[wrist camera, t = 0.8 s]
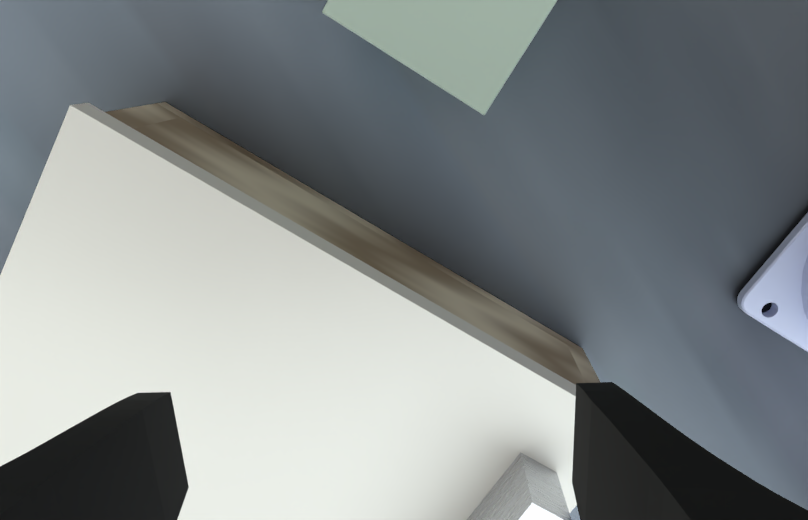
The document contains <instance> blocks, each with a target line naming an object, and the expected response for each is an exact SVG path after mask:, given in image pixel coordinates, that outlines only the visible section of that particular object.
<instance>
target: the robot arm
mask: <svg viewBox="0 0 808 520" xmlns="http://www.w3.org/2000/svg"><path fill="white" fill-rule="evenodd" d="M771 302H772V306H771V308H770V310H768V311H767V312H763V313H762V308H763V306H764V305H765V304H767V303H771ZM737 303H738V306H739V308H740V309H741V310H743V311H744V312H745V313H746V314H748V315H749V316H751V317H753V318H754V319H756V320H757V321H759V322H760V323H762V324H764V325H765V326H767V327H768V328H770V329H772V330H773V331H775V332H776V333H778V334H780V335H781V336H783V337H784V338H786V339H788V340H789V341H791V342H792V343H794V344H796V345H797V346H799V347H800V348H802V349H804V350H805V351H807V352H808V213H807V214H806V215H805V216H804V217H803V218H802V220H801V221H800V222H799V223H798V224H797V225H796V227H795V228H794V229H793V230H792V231H791V232H790V234H789V235H788V236H787V237H786V238H785V240H784V241H783V242H782V243H781V244H780V245H779V247H778V248H777V249H776V250H775V251H774V252H773V254H772V255H771V256H770V257H769V258H768V259H767V261H766V262H765V263H764V264H763V265H762V267H761V268H760V269H759V270H758V271H757V272H756V274H755V275H754V276H753V277H752V278H751V279H750V281H749V282H748V283H747V284H746V285H745V287H744V288H743V289H742V290H741V291H740V293H739V295H738V297H737ZM572 485H573V489H574V494H575V498H576V502H577V507H578V511H579V515H580V520H808V510H806V509H804V508H802V507H800V506H798V505H796V504H795V503H793V502H791V501H789V500H787V499H785V498H783V497H782V496H780V495H778V494H776V493H774V492H773V491H771V490H769V489H767V488H766V487H764V486H762V485H761V484H759V483H757V482H755V481H754V480H752V479H751V478H749V477H747V476H746V475H744V474H743V473H741V472H740V471H738V470H736V469H735V468H733V467H732V466H730V465H728V464H727V463H725V462H724V461H722V460H721V459H719V458H717V457H716V456H714V455H713V454H711V453H710V452H709V451H707V450H706V449H704V448H703V447H701V446H700V445H698V444H697V443H695V442H694V441H692V440H691V439H690V438H688V437H687V436H685V435H684V434H683V433H681V432H680V431H678V430H677V429H676V428H674V427H673V426H671V425H670V424H669V423H667V422H666V421H665V420H663V419H662V418H661V417H659V416H658V415H657V414H655V413H654V412H653V411H651V410H650V409H649V408H647V407H646V406H644V405H643V404H642V403H640V402H639V401H638V400H636V399H635V398H634V397H632V396H631V395H630V394H628V393H627V392H626V391H624V390H623V389H621V388H620V387H619V386H617V385H616V384H614V383H612V382H603V383H576V400H575V423H574V446H573V470H572ZM188 488H189V486H188V481H187V475H186V470H185V465H184V460H183V454H182V449H181V444H180V439H179V434H178V428H177V423H176V418H175V413H174V407H173V402H172V397H171V392H150V393H136V394H134V395H131V396H129V397H127V398H125V399H123V400H120V401H118V402H117V403H115V404H113V405H111V406H109V407H107V408H105V409H103V410H101V411H100V412H98V413H96V414H94V415H92V416H91V417H89V418H87V419H85V420H84V421H82V422H80V423H78V424H76V425H75V426H73V427H71V428H69V429H68V430H66V431H64V432H62V433H60V434H59V435H57V436H55V437H53V438H52V439H50V440H48V441H46V442H45V443H43V444H41V445H39V446H37V447H36V448H34V449H32V450H30V451H28V452H27V453H25V454H23V455H21V456H19V457H17V458H15V459H13V460H12V461H10V462H8V463H6V464H4V465H2V466H0V520H177V519H178V516H179V513H180V511H181V508H182V505H183V502H184V499H185V497H186V494H187V491H188Z"/></svg>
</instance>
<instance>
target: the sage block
mask: <svg viewBox="0 0 808 520" xmlns="http://www.w3.org/2000/svg"><path fill="white" fill-rule="evenodd" d="M556 2H557V0H328V2H327V3H326V5H325V7H324V9H323V11H322V13H324V14H325V15H327V16H328V17H330V18H332V19H333V20H335V21H336V22H338V23H339V24H341V25H343V26H344V27H346V28H347V29H349V30H350V31H352V32H354V33H355V34H357V35H358V36H360V37H361V38H363V39H365V40H366V41H368V42H369V43H371V44H372V45H374V46H376V47H377V48H379V49H380V50H382V51H384V52H385V53H387V54H388V55H390V56H391V57H393V58H395V59H396V60H398V61H399V62H401V63H402V64H404V65H406V66H407V67H409V68H410V69H412V70H413V71H415V72H417V73H418V74H420V75H421V76H423V77H424V78H426V79H428V80H429V81H431V82H432V83H434V84H435V85H437V86H439V87H440V88H442V89H443V90H445V91H446V92H448V93H450V94H451V95H453V96H454V97H456V98H458V99H459V100H461V101H462V102H464V103H465V104H467V105H469V106H470V107H472V108H473V109H475V110H476V111H478V112H480V113H481V114H483V115H485V113H486V112H487V110H488V109H489V107H490V106H491V104H492V102H493V101H494V99H495V98H496V96H497V95H498V93H499V91H500V90H501V88H502V87H503V85H504V84H505V82H506V80H507V79H508V77H509V76H510V74H511V73H512V71H513V69H514V68H515V66H516V65H517V63H518V61H519V60H520V58H521V57H522V55H523V54H524V52H525V50H526V49H527V47H528V46H529V44H530V43H531V41H532V39H533V38H534V36H535V35H536V33H537V32H538V30H539V28H540V27H541V25H542V24H543V22H544V20H545V19H546V17H547V16H548V14H549V13H550V11H551V9H552V8H553V6H554V5H555V3H556Z"/></svg>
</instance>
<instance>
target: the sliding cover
mask: <svg viewBox="0 0 808 520" xmlns="http://www.w3.org/2000/svg"><path fill="white" fill-rule="evenodd" d="M150 392H171V397H172V402H173V407H174V413H175V418H176V423H177V428H178V434H179V439H180V444H181V449H182V454H183V460H184V465H185V470H186V475H187V481H188V486H189V488H188V491H187V494H186V497H185V499H184V502H183V505H182V508H181V511H180V513H179V516H178V519H177V520H571V517H570V512H571V511H572V510H573V509H574V508H575V506H576V505H577V502H576V498H575V494H574V489H573V485H572V470H573V446H574V423H575V400H576V385H575V384H573V383H571V382H570V381H568V380H566V379H564V378H563V377H561V376H559V375H558V374H556V373H554V372H552V371H551V370H549V369H547V368H545V367H544V366H542V365H540V364H539V363H537V362H535V361H533V360H532V359H530V358H528V357H526V356H525V355H523V354H521V353H520V352H518V351H516V350H514V349H513V348H511V347H509V346H507V345H506V344H504V343H502V342H501V341H499V340H497V339H495V338H494V337H492V336H490V335H489V334H487V333H485V332H483V331H482V330H480V329H478V328H476V327H475V326H473V325H471V324H470V323H468V322H466V321H464V320H463V319H461V318H459V317H457V316H456V315H454V314H452V313H451V312H449V311H447V310H445V309H444V308H442V307H440V306H438V305H437V304H435V303H433V302H432V301H430V300H428V299H426V298H425V297H423V296H421V295H419V294H418V293H416V292H414V291H413V290H411V289H409V288H407V287H406V286H404V285H402V284H400V283H399V282H397V281H395V280H394V279H392V278H390V277H388V276H387V275H385V274H383V273H381V272H380V271H378V270H376V269H375V268H373V267H371V266H369V265H368V264H366V263H364V262H363V261H361V260H359V259H357V258H356V257H354V256H352V255H350V254H349V253H347V252H345V251H344V250H342V249H340V248H338V247H337V246H335V245H333V244H331V243H330V242H328V241H326V240H325V239H323V238H321V237H319V236H318V235H316V234H314V233H312V232H311V231H309V230H307V229H306V228H304V227H302V226H300V225H299V224H297V223H295V222H293V221H292V220H290V219H288V218H287V217H285V216H283V215H281V214H280V213H278V212H276V211H274V210H273V209H271V208H269V207H268V206H266V205H264V204H262V203H261V202H259V201H257V200H256V199H254V198H252V197H250V196H249V195H247V194H245V193H243V192H242V191H240V190H238V189H237V188H235V187H233V186H231V185H230V184H228V183H226V182H224V181H223V180H221V179H219V178H218V177H216V176H214V175H212V174H211V173H209V172H207V171H205V170H204V169H202V168H200V167H199V166H197V165H195V164H193V163H192V162H190V161H188V160H186V159H185V158H183V157H181V156H180V155H178V154H176V153H174V152H173V151H171V150H169V149H167V148H166V147H164V146H162V145H161V144H159V143H157V142H155V141H154V140H152V139H150V138H148V137H147V136H145V135H143V134H142V133H140V132H138V131H136V130H135V129H133V128H131V127H130V126H128V125H126V124H124V123H123V122H121V121H119V120H117V119H116V118H114V117H112V116H111V115H109V114H107V113H105V112H104V111H102V110H100V109H98V108H97V107H95V106H93V105H92V104H90V103H82V104H74V105H70V107H69V109H68V112H67V114H66V116H65V119H64V121H63V124H62V126H61V129H60V131H59V134H58V136H57V138H56V141H55V143H54V146H53V148H52V151H51V153H50V155H49V158H48V160H47V163H46V165H45V168H44V170H43V173H42V175H41V177H40V180H39V182H38V185H37V187H36V190H35V192H34V194H33V197H32V199H31V202H30V204H29V207H28V209H27V212H26V214H25V216H24V219H23V221H22V224H21V226H20V229H19V231H18V233H17V236H16V238H15V241H14V243H13V246H12V248H11V251H10V253H9V255H8V258H7V260H6V263H5V265H4V268H3V270H2V272H1V275H0V466H2V465H4V464H6V463H8V462H10V461H12V460H13V459H15V458H17V457H19V456H21V455H23V454H25V453H27V452H28V451H30V450H32V449H34V448H36V447H37V446H39V445H41V444H43V443H45V442H46V441H48V440H50V439H52V438H53V437H55V436H57V435H59V434H60V433H62V432H64V431H66V430H68V429H69V428H71V427H73V426H75V425H76V424H78V423H80V422H82V421H84V420H85V419H87V418H89V417H91V416H92V415H94V414H96V413H98V412H100V411H101V410H103V409H105V408H107V407H109V406H111V405H113V404H115V403H117V402H118V401H120V400H123V399H125V398H127V397H129V396H131V395H134V394H136V393H150Z"/></svg>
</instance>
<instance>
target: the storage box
mask: <svg viewBox="0 0 808 520" xmlns="http://www.w3.org/2000/svg"><path fill="white" fill-rule="evenodd" d="M105 113H107V114H109V115H111V116H112V117H114V118H116V119H117V120H119V121H121V122H123V123H124V124H126V125H128V126H130V127H131V128H133V129H135V130H136V131H138V132H140V133H142V134H143V135H145V136H147V137H148V138H150V139H152V140H154V141H155V142H157V143H159V144H161V145H162V146H164V147H166V148H167V149H169V150H171V151H173V152H174V153H176V154H178V155H180V156H181V157H183V158H185V159H186V160H188V161H190V162H192V163H193V164H195V165H197V166H199V167H200V168H202V169H204V170H205V171H207V172H209V173H211V174H212V175H214V176H216V177H218V178H219V179H221V180H223V181H224V182H226V183H228V184H230V185H231V186H233V187H235V188H237V189H238V190H240V191H242V192H243V193H245V194H247V195H249V196H250V197H252V198H254V199H256V200H257V201H259V202H261V203H262V204H264V205H266V206H268V207H269V208H271V209H273V210H274V211H276V212H278V213H280V214H281V215H283V216H285V217H287V218H288V219H290V220H292V221H293V222H295V223H297V224H299V225H300V226H302V227H304V228H306V229H307V230H309V231H311V232H312V233H314V234H316V235H318V236H319V237H321V238H323V239H325V240H326V241H328V242H330V243H331V244H333V245H335V246H337V247H338V248H340V249H342V250H344V251H345V252H347V253H349V254H350V255H352V256H354V257H356V258H357V259H359V260H361V261H363V262H364V263H366V264H368V265H369V266H371V267H373V268H375V269H376V270H378V271H380V272H381V273H383V274H385V275H387V276H388V277H390V278H392V279H394V280H395V281H397V282H399V283H400V284H402V285H404V286H406V287H407V288H409V289H411V290H413V291H414V292H416V293H418V294H419V295H421V296H423V297H425V298H426V299H428V300H430V301H432V302H433V303H435V304H437V305H438V306H440V307H442V308H444V309H445V310H447V311H449V312H451V313H452V314H454V315H456V316H457V317H459V318H461V319H463V320H464V321H466V322H468V323H470V324H471V325H473V326H475V327H476V328H478V329H480V330H482V331H483V332H485V333H487V334H489V335H490V336H492V337H494V338H495V339H497V340H499V341H501V342H502V343H504V344H506V345H507V346H509V347H511V348H513V349H514V350H516V351H518V352H520V353H521V354H523V355H525V356H526V357H528V358H530V359H532V360H533V361H535V362H537V363H539V364H540V365H542V366H544V367H545V368H547V369H549V370H551V371H552V372H554V373H556V374H558V375H559V376H561V377H563V378H564V379H566V380H568V381H570V382H571V383H573V384H575V385H576V383H601V382H600V381H599V379H598V377H597V375H596V373H595V371H594V369H593V367H592V366H591V364H590V362H589V360H588V358H587V356H586V354H585V352H584V350H583V349H582V348H581V347H579V346H578V345H576V344H574V343H573V342H571V341H569V340H568V339H566V338H564V337H562V336H561V335H559V334H557V333H556V332H554V331H552V330H551V329H549V328H547V327H545V326H544V325H542V324H540V323H539V322H537V321H535V320H534V319H532V318H530V317H529V316H527V315H525V314H523V313H522V312H520V311H518V310H517V309H515V308H513V307H512V306H510V305H508V304H507V303H505V302H503V301H501V300H500V299H498V298H496V297H495V296H493V295H491V294H490V293H488V292H486V291H484V290H483V289H481V288H479V287H478V286H476V285H474V284H473V283H471V282H469V281H468V280H466V279H464V278H462V277H461V276H459V275H457V274H456V273H454V272H452V271H451V270H449V269H447V268H446V267H444V266H442V265H440V264H439V263H437V262H435V261H434V260H432V259H430V258H429V257H427V256H425V255H423V254H422V253H420V252H418V251H417V250H415V249H413V248H412V247H410V246H408V245H407V244H405V243H403V242H401V241H400V240H398V239H396V238H395V237H393V236H391V235H390V234H388V233H386V232H385V231H383V230H381V229H379V228H378V227H376V226H374V225H373V224H371V223H369V222H368V221H366V220H364V219H362V218H361V217H359V216H357V215H356V214H354V213H352V212H351V211H349V210H347V209H346V208H344V207H342V206H340V205H339V204H337V203H335V202H334V201H332V200H330V199H329V198H327V197H325V196H324V195H322V194H320V193H318V192H317V191H315V190H313V189H312V188H310V187H308V186H307V185H305V184H303V183H301V182H300V181H298V180H296V179H295V178H293V177H291V176H290V175H288V174H286V173H285V172H283V171H281V170H279V169H278V168H276V167H274V166H273V165H271V164H269V163H268V162H266V161H264V160H263V159H261V158H259V157H257V156H256V155H254V154H252V153H251V152H249V151H247V150H246V149H244V148H242V147H240V146H239V145H237V144H235V143H234V142H232V141H230V140H229V139H227V138H225V137H224V136H222V135H220V134H218V133H217V132H215V131H213V130H212V129H210V128H208V127H207V126H205V125H203V124H201V123H200V122H198V121H196V120H195V119H193V118H191V117H190V116H188V115H186V114H185V113H183V112H181V111H179V110H178V109H176V108H174V107H173V106H171V105H169V104H168V103H166V102H161V103H155V104H150V105H144V106H138V107H132V108H126V109H120V110H114V111H108V112H105Z"/></svg>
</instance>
